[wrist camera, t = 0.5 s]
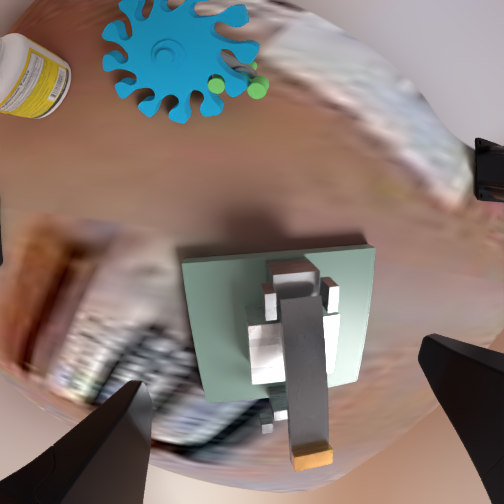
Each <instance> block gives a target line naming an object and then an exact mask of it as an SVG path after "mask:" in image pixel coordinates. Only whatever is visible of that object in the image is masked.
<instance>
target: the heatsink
mask: <svg viewBox="0 0 504 504" xmlns="http://www.w3.org/2000/svg"><path fill="white" fill-rule="evenodd" d="M322 307H323V306H322ZM276 312H277V320H269V321H266V320H265V316H264V313H263V310H262V305H255V306H245V320H246V333H247V346H248V359H249V367H250V373H251V379H252V385H254V384H263V383H271V382H279V381H285V376H284V364H283V352H282V340H281V328H280V317H279V306H276ZM339 317H340V315H339V313H338V312H331V313H328V312H327V311H326V310H325V308H324V307H323V318H324V330H325V344H326V361H327V373H332V372H333V368H334V361H335V353H336V345H337V336H338V327H339Z"/></svg>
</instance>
